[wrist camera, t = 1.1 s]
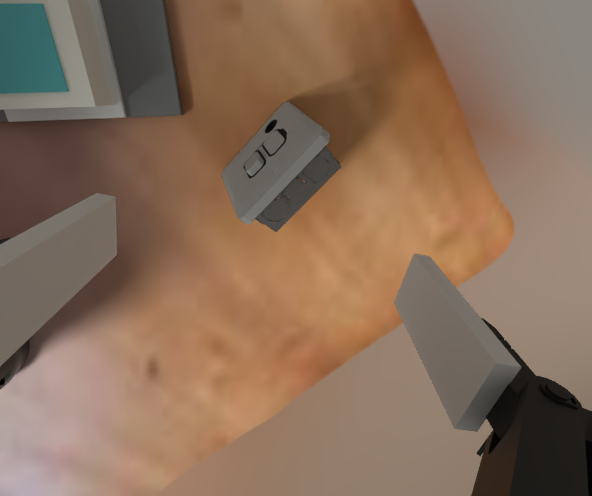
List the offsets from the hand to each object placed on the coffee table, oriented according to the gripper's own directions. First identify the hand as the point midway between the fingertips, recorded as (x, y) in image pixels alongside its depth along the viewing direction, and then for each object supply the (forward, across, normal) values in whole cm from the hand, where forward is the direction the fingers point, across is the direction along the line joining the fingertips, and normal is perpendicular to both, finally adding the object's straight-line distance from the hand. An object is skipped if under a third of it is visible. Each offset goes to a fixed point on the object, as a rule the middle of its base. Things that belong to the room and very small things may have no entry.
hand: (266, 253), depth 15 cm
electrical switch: (+20, +1, -1) cm, 20 cm away
